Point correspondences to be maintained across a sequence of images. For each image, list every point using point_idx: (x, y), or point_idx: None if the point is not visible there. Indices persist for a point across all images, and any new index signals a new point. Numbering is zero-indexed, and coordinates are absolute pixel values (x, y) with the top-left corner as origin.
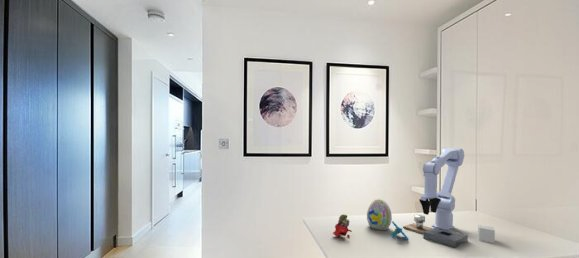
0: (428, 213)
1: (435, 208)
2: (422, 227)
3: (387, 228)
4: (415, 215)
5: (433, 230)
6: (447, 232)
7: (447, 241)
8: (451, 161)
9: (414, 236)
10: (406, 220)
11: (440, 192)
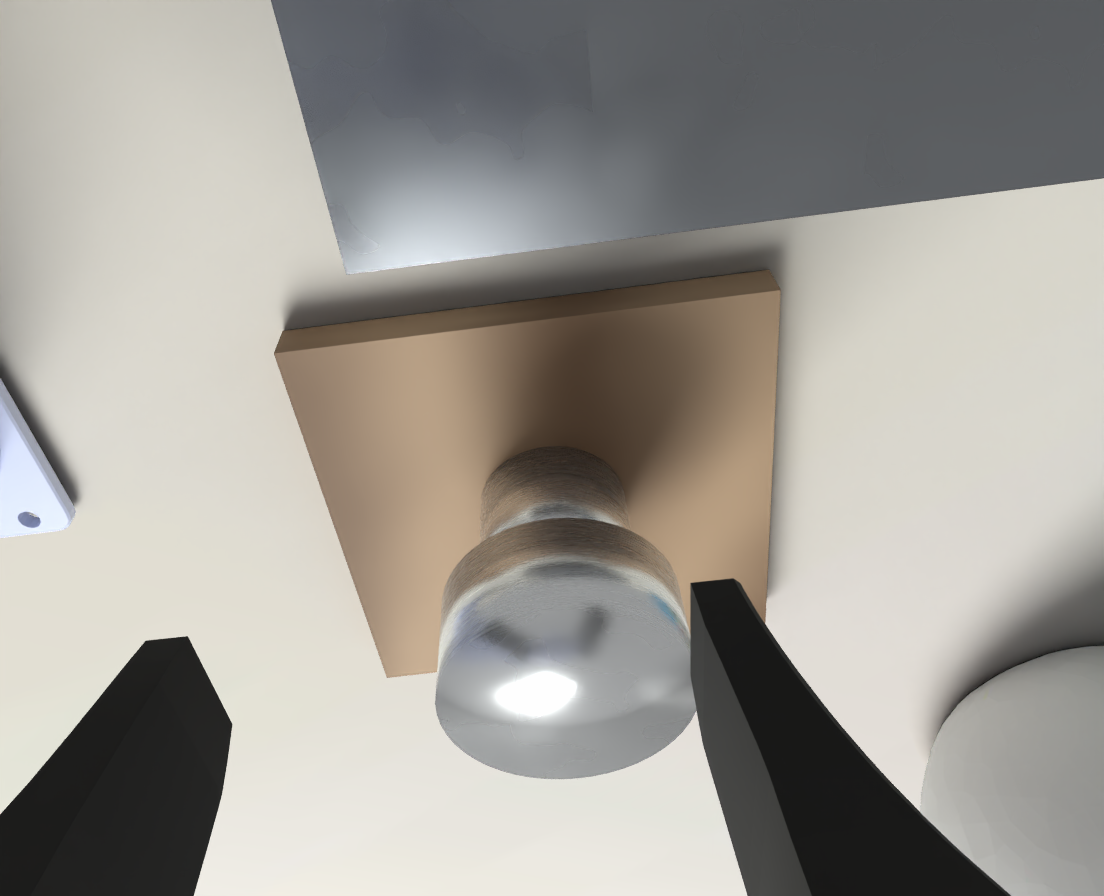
0: (714, 604)
1: (125, 772)
2: (554, 463)
3: (1063, 657)
4: (617, 751)
5: (761, 130)
6: None
7: None
8: None
9: (1059, 279)
10: (298, 796)
11: None
